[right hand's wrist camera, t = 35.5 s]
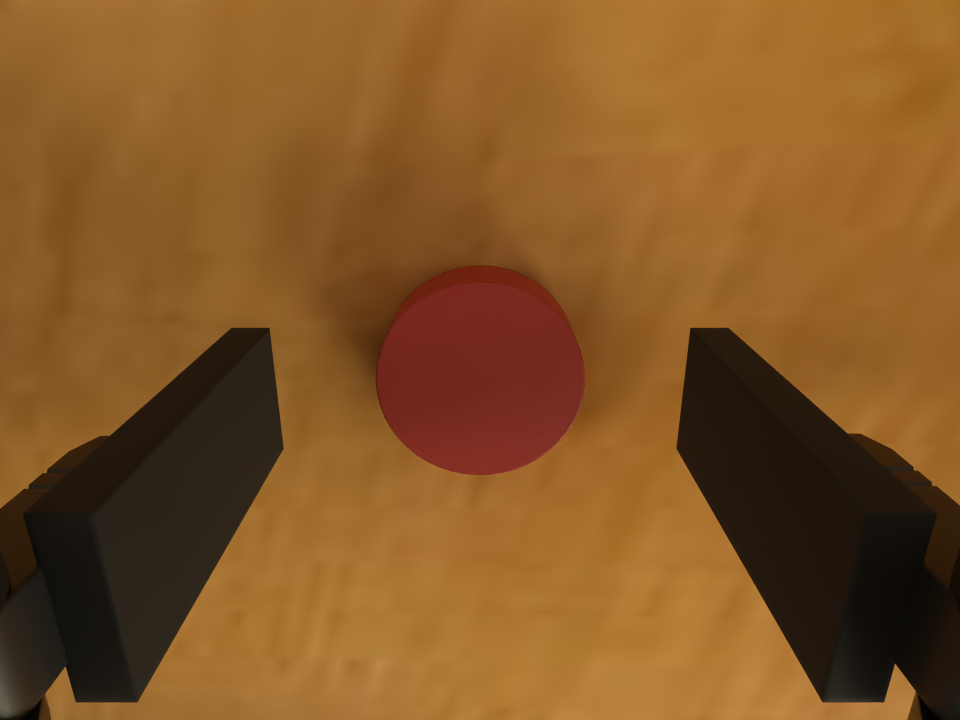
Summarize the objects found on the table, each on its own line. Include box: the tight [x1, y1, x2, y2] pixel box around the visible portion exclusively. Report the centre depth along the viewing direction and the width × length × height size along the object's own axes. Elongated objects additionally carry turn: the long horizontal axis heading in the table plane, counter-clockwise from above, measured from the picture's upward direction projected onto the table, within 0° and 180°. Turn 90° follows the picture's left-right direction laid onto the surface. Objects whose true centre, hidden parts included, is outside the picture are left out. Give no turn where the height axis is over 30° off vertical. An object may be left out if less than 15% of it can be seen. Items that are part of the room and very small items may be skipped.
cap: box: [376, 266, 585, 475], centre depth 15 cm, size 4×4×2 cm
